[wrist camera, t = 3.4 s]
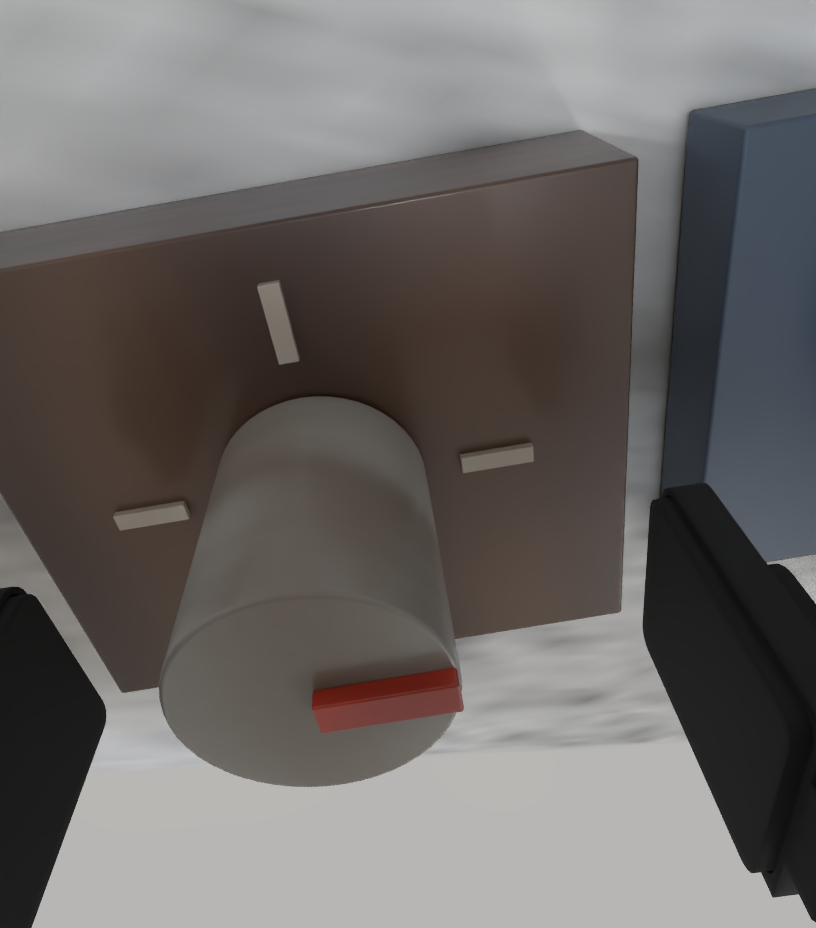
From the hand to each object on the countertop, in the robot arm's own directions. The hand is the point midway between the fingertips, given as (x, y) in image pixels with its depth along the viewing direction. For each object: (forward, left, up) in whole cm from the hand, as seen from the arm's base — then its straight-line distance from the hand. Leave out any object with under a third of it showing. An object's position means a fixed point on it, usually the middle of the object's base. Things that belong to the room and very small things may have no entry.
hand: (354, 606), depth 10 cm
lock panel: (-1, 0, -6) cm, 6 cm away
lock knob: (-1, 0, -3) cm, 3 cm away
